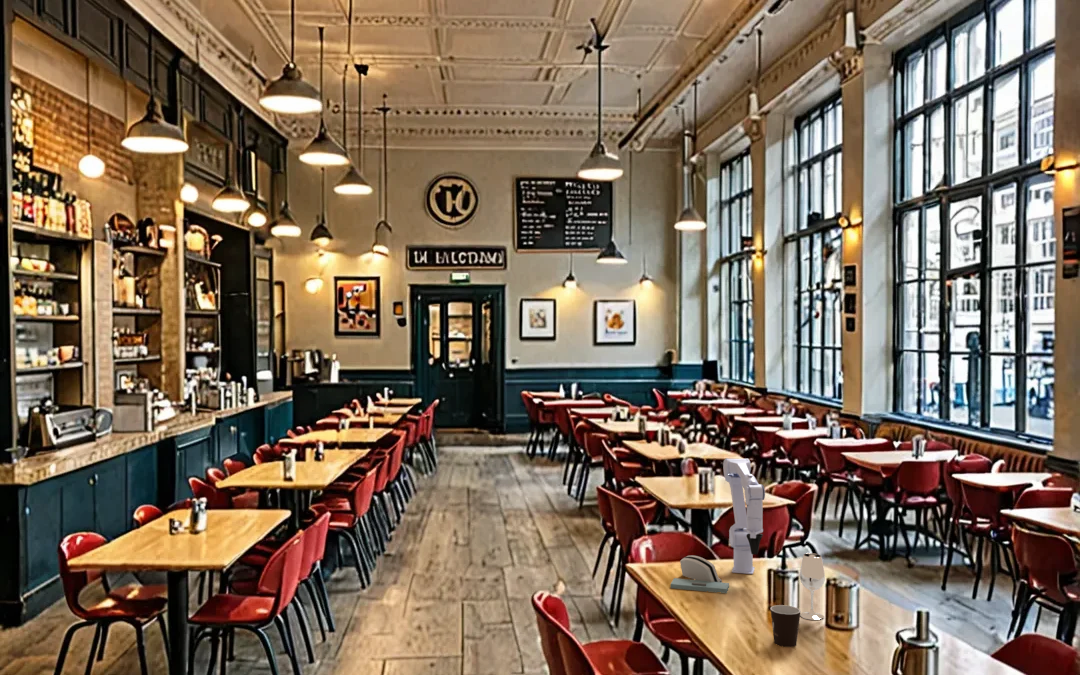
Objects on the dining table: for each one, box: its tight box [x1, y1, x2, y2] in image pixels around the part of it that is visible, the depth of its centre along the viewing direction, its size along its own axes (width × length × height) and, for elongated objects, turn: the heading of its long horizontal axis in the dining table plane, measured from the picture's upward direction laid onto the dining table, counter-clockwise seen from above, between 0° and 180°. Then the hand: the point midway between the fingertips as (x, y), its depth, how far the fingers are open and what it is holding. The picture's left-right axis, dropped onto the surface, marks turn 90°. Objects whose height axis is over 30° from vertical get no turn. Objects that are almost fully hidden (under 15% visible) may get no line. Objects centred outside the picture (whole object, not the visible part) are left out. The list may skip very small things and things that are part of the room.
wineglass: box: [799, 552, 826, 621], centre depth 283 cm, size 8×8×20 cm
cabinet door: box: [670, 577, 730, 594], centre depth 315 cm, size 8×20×2 cm, turn 72°
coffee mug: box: [770, 604, 802, 648], centre depth 260 cm, size 12×9×10 cm
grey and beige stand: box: [679, 555, 723, 583], centre depth 325 cm, size 17×5×10 cm, turn 33°
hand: (754, 554), depth 323 cm, fingers closed
